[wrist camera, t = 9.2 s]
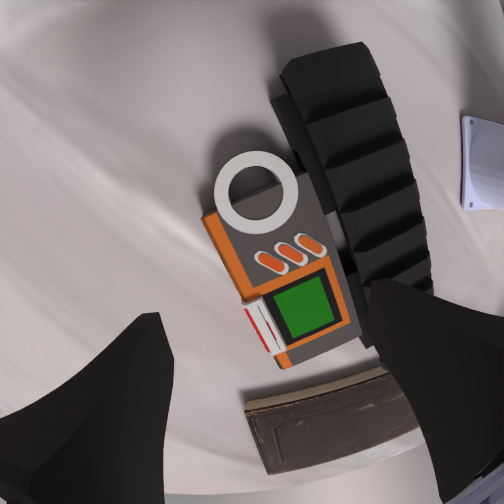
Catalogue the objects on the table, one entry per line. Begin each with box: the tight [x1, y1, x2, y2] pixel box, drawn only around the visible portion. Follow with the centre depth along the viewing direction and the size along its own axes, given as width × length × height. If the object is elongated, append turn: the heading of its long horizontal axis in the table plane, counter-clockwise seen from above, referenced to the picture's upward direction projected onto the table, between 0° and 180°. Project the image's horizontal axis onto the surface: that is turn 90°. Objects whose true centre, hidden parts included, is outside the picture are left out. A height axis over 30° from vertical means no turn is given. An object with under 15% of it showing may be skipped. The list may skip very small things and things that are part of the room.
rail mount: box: [270, 42, 434, 372], centre depth 17 cm, size 21×6×5 cm, turn 25°
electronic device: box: [201, 151, 362, 370], centre depth 19 cm, size 7×3×15 cm
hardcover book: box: [244, 366, 420, 475], centre depth 27 cm, size 16×23×2 cm
